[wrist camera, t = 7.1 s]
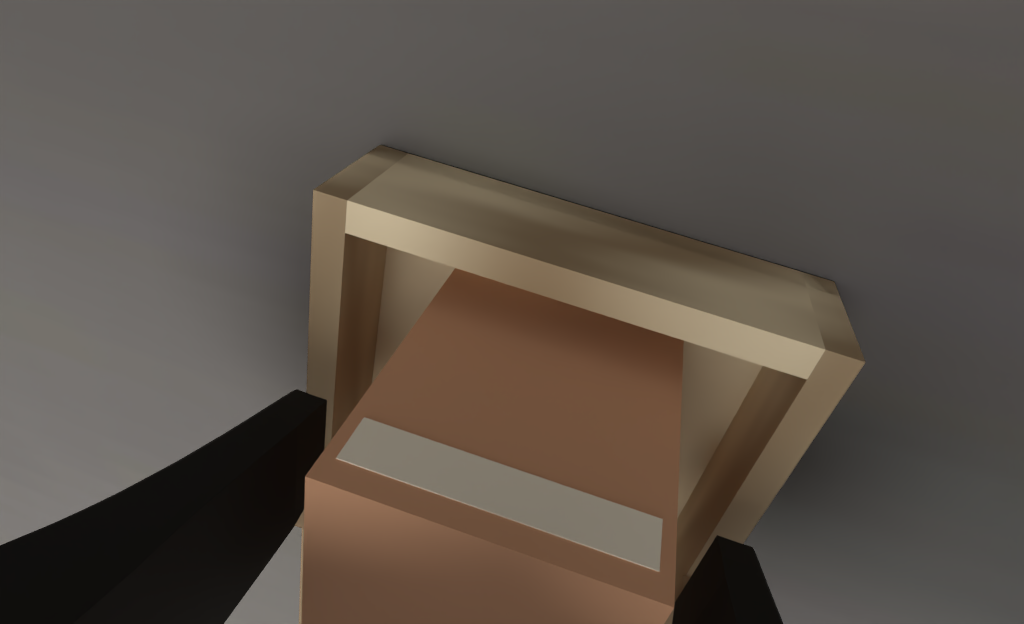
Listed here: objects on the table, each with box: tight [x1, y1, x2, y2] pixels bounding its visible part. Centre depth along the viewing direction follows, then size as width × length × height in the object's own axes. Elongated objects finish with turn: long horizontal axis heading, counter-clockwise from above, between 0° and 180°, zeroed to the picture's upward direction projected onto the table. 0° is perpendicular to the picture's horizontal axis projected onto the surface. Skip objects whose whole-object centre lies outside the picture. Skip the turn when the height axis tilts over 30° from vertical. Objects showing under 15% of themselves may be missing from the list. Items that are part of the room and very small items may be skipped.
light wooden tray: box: [295, 145, 865, 624], centre depth 15 cm, size 9×14×3 cm, turn 168°
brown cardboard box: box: [301, 268, 684, 624], centre depth 11 cm, size 5×5×6 cm
